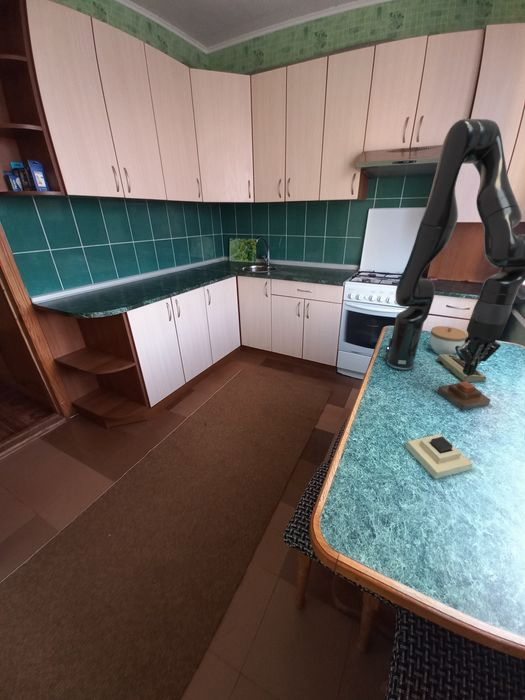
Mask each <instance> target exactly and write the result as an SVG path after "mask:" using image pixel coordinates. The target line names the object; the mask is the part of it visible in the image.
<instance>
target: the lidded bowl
mask: <svg viewBox="0 0 525 700" xmlns="http://www.w3.org/2000/svg"><path fill="white" fill-rule="evenodd" d="M467 337H468V333H467V332H466V331H464V330H462V329H460V328H456V327H453V326H445V325H439V326H434V327H432V328H431V329H430V334H429V346H430V348H431V349H432V350H433V352H434V353H435V354H437V355H438V356H439V355H440V354H448V355H456V354H457V352H456V350H455V347H456V346H462V345H463V344H464V343H465V339H466V338H467Z"/></svg>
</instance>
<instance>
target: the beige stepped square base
mask: <svg viewBox="0 0 525 700" xmlns="http://www.w3.org/2000/svg"><path fill="white" fill-rule="evenodd" d="M438 437H444V436H443V435H442V434H441V433H438V434H434V435H430V436H425V437H421V438H416V439H411V440H408V441H407V442H406V445H405V449H407V451H408V452H409V453H410V454H411V455H412V456H413V457H414V458H415V459H416V460H417V462H418V463H420V465H421V466H422V467H423V468H424V469H425V470H426V471H427V473H429V474H430V476H431V477H432V478H433V479H434V480H437V479H441V478H444V477H448V476H451V475H455V474H456V475H457V474H459V473H463V472H466V471H467V472H468V471H470V470H471V469H472V467H473V465H474V463H473V462H472V461H471V460H470V459H469V458H468V457H467V456H465V455H464V454H463V453H462V452H461V451H460V450H459V449H458V448H456V446H454V445H453V444H452V443H451V442H450V441H449V440H447V441H448V442H449V443H450V444H451V445H453V447H452V449H451V451H449V452H445V453H441V454H440V453H439V452H438V451H437V450H436V449H435V448H434V447H433V446H432V445H431V444H430V443H431V440H432V439H434V438H438Z"/></svg>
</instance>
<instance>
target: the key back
mask: <svg viewBox="0 0 525 700" xmlns="http://www.w3.org/2000/svg"><path fill="white" fill-rule="evenodd" d="M457 383H458V386H457V387H458V388H459V389H461V390H462V391H464V392H465V393H467V392H472V391H474V389H475V388H476V386H475V385H473V384H472V383H471V382H467V381H466V382H462V381H460V382H457Z"/></svg>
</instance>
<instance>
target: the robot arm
mask: <svg viewBox="0 0 525 700" xmlns="http://www.w3.org/2000/svg"><path fill="white" fill-rule="evenodd" d="M504 151H505V150H504V146H503V138H502V133H501V129H500V127H499V125H498V123H497V122H496V121H495V120H493V119H487V118H485V119H484V118H461V119H458V121H456V122H455V123H453V124H452V125H451V127H450V128H449V129H448V131H447V132H446V135H445V138H444V140H443V143H442V146H441V149H440V153H439V157H438V161H437V165H436V170H435V174H434V177H433V183H432V187H431V190H430V193H429V197H428V200H427V203H426V206H425V209H424V211H423V215H422V218H421V220H420V223H419V226H418V229H417V233H416V236H415V240H414V243H413V246H412V249H411V252H410V254H409V257H408V260H407V263H406V265H405V267H404V269H403V271H402V274H401V276H400V278H399V281H398V283H397V286H396V289H395V302H396V304H397V305H398V306H400V307H403V308H406V309H404V310H402V311H401V312H399V313H397V314H396V317H395V320H394V326H393V330H392V335H391V338H389V342H388V345H386V346H385V347H386V348H385V353H386V357H385V361H386V364H387V366H389V367H390V368H391V369H395V370H398V371H410V370H412V369H413V368H414V364H415V359H416V357H417V356H416V355H417V351H418V347H419V343H420V339H421V336H422V331H423V328H424V325H425V322H426V321H427V319H428V317H429V314H430V311H431V308H432V306H433V305H432V304H433V302H434V299H435V292H436V289H435V288H436V287H435V285H434V282H433V281H432V279H430V278H427V277H426V278H421V277H422V275H423V274H424V271H425V270H426V268H427V267H428V266H430V263H431V262H433V261H434V259H435V258H437V256H439V254H440V253H441V252H442V251H443V250H444V249H445V248H446V246H448V244H449V242H450V240H451V238H452V234H453V233H454V229H455V227H456V225H457V224H458V223H457V222H458V219H459V211H458V203H457V196H456V185H457V181H458V177H459V174H460V171H461V169H462V165H463V164H472V165H473V166H474V167H475V169H476V171H477V173H478V175H479V187H478V190H477V195H476V202H475V205H476V211H477V213H478V216H479V218H480V219H479V220H480V221H481V224H482V226H483V230H484V236H483V239H484V256H485V258H486V260H487V262H488V263H489V264H490V265H491V266H493V267H494V268H500V270H499V271H498V272H497V273H494V274H493V275H490V276H488V277H487V278H486V279H485V280H484V282H483V284H482V287H481V289H480V293H479V296H478V298H477V301H476V302H475V304H474V307H473V309H472V312H471V315H470V318H469V322H468V324H467V327H466V333H467V338H466V339H465V343H464V344H463V345H462V346H456V347H455V350H456V352H457V353H456V355H457V356H458V357H459V358H460V360H461V361H463V362H465V366H464V368H463V373H464V374H466V375H467V376H471V375H474V373H475V371H476V370H477V368H478V366H479V365H480V364H481V363H482V362H483V363H485V362H486V361H488V360H489V359H490V358H491V357H492V356H493V355H494V354H495V353H496V352H497V351H498V350H499V349H500V348H501V344H500V343H498V342H496V341H497V340H498V339H500V338H501V337H502V335H503V332H504V330H505V328H506V325H507V322H508V320H509V317H510V316H511V313H512V309H513V304H514V302H515V300H516V297H517V295H518V292H519V290H520V287H521V286H522V285H523V283H524V282H525V233H524V234H515V233H514V230H513V229H514V228H515V227H517V226H518V225H519V224H520V223H521V221H522V218H523V215H522V210H521V208H520V206H519V204H518V201H517V199H516V196H515V194H514V191H513V188H512V186H511V183H510V180H509V179H510V178H509V174H508V169H507V165H506V164H507V163H506V158H505V152H504Z"/></svg>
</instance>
